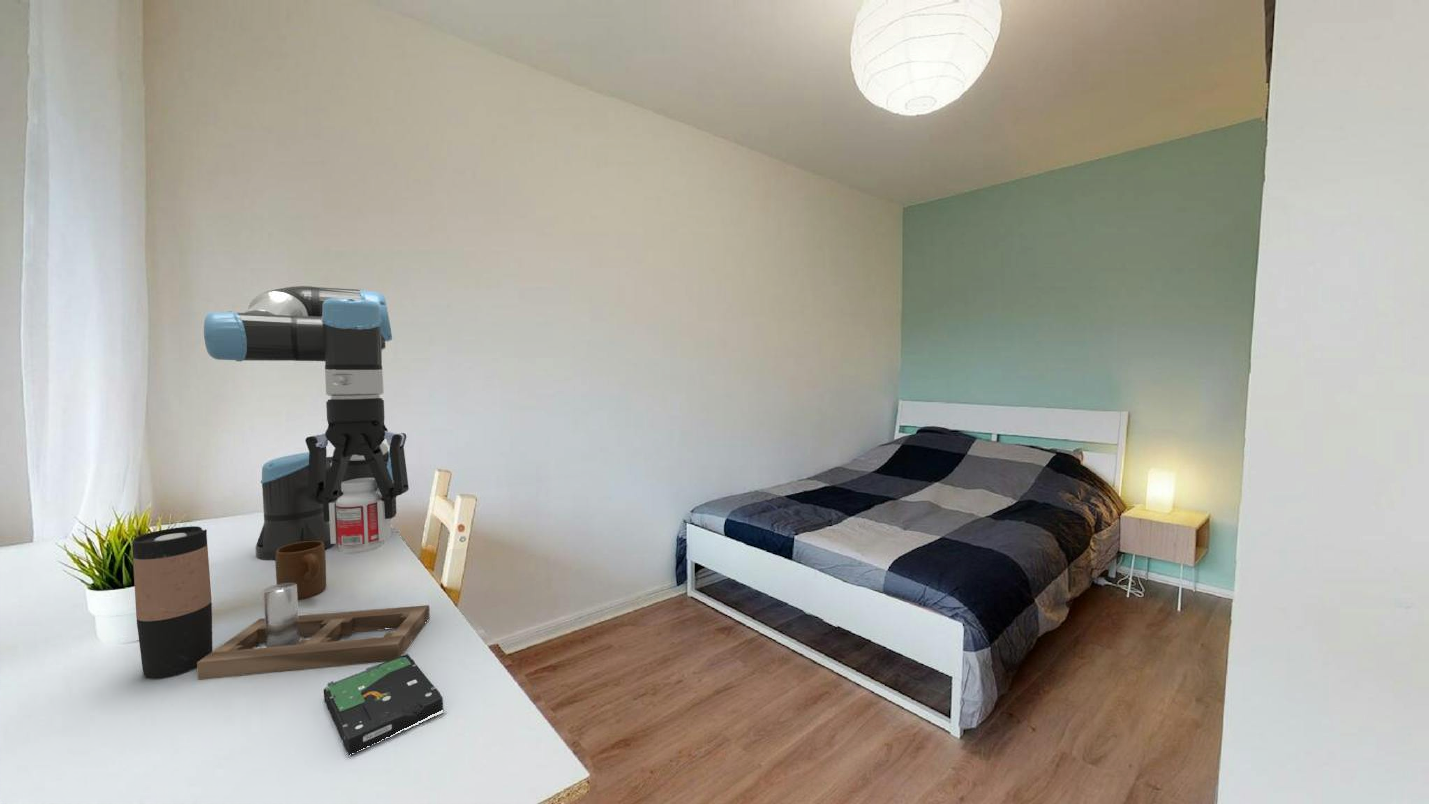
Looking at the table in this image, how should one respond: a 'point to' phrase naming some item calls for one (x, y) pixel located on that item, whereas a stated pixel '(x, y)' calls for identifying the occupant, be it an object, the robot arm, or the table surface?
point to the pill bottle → (358, 516)
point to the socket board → (318, 643)
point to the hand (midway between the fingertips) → (361, 539)
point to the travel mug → (172, 600)
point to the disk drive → (380, 702)
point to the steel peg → (281, 615)
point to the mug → (302, 567)
